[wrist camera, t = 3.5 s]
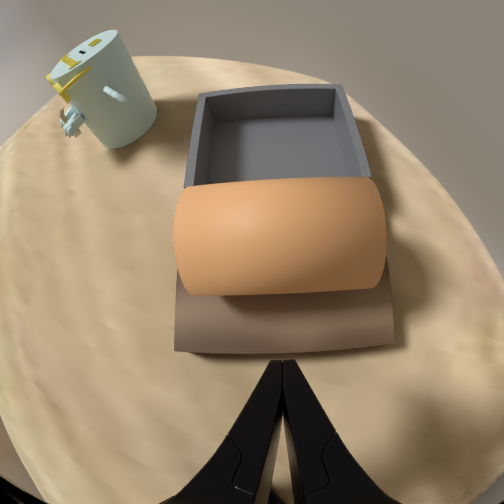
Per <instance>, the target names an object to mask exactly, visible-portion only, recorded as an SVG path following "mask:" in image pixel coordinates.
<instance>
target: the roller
mask: <svg viewBox="0 0 504 504" xmlns="http://www.w3.org/2000/svg"><path fill="white" fill-rule="evenodd" d="M174 250H175V257H176V263H177V268H178V271H179V275H180V278H181V281H182V283H183V285H184V287H185V289H186V290H187V291H188V293H190V294H191V295H193V296H226V295H263V294H289V293H309V292H327V291H342V290H356V289H369V288H374V287H375V286H376V285H377V284H378V282H379V281H380V279H381V276H382V273H383V270H384V265H385V260H386V251H387V227H386V218H385V212H384V207H383V203H382V199H381V196H380V193H379V191H378V189H377V186H376V185H375V183H374V182H373V181H372V179H370V178H369V177H309V178H285V179H267V180H253V181H240V182H228V183H217V184H207V185H198V186H189V187H186V188H185V189H184V190H183V191H182V193H181V194H180V197H179V199H178V202H177V206H176V211H175V218H174Z"/></svg>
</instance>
